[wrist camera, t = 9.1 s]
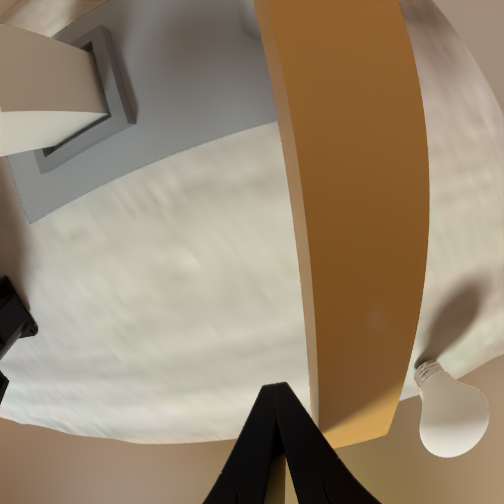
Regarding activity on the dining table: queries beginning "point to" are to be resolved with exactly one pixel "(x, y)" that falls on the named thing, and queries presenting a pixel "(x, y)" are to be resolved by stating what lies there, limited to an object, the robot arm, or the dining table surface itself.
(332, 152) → the bar
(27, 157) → the socket board
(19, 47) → the plug
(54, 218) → the dining table surface
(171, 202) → the dining table surface
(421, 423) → the light bulb
